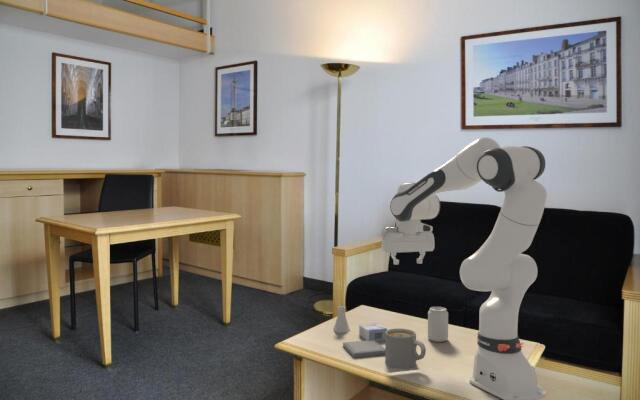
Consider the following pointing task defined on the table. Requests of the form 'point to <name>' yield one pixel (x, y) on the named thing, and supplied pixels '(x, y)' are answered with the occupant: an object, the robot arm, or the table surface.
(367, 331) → the medicine box
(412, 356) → the coffee mug
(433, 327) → the can
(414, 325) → the table surface
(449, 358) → the table surface
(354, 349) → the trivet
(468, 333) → the table surface
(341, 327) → the flask
